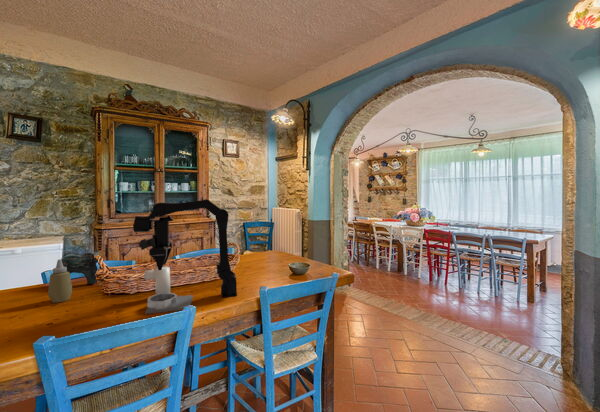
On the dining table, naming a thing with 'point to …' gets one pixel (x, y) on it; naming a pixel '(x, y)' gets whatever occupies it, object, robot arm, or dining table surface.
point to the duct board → (176, 307)
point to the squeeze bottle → (60, 284)
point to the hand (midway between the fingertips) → (162, 267)
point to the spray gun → (82, 264)
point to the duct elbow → (159, 279)
